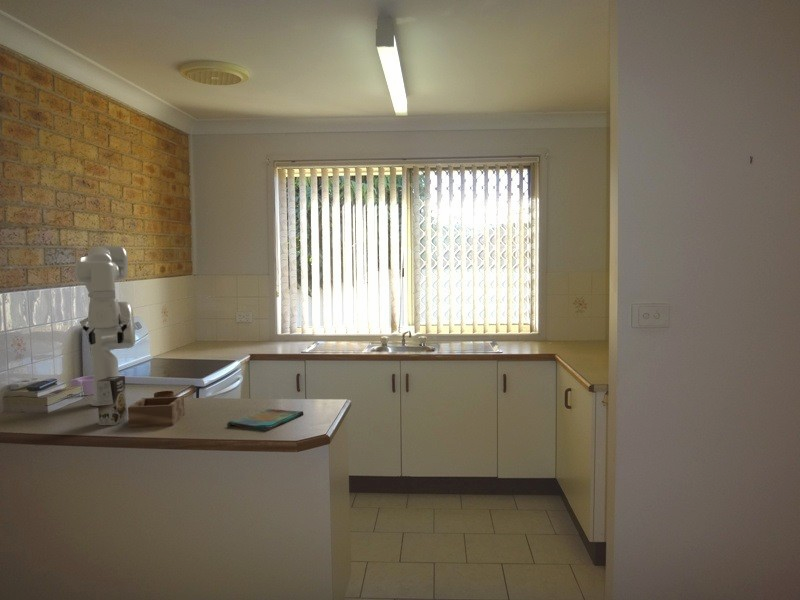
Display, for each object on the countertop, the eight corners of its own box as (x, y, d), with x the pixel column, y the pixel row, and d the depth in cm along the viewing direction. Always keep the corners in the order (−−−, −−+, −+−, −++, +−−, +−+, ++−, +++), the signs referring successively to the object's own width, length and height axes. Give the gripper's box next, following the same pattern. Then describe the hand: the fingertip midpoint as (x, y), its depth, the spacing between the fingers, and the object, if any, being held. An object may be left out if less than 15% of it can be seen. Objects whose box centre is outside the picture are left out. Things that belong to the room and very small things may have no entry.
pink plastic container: (109, 386, 292) (108, 372, 292) (125, 389, 285) (124, 374, 285) (67, 394, 276) (66, 379, 275) (82, 397, 269) (81, 381, 268)
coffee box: (116, 425, 219) (113, 380, 218) (98, 425, 219) (95, 380, 218) (128, 418, 228) (125, 375, 227) (110, 419, 228) (108, 376, 227)
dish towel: (225, 428, 212) (225, 421, 212) (266, 412, 234) (266, 406, 233) (266, 433, 205) (266, 425, 205) (305, 416, 226) (304, 409, 226)
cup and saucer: (169, 412, 237) (168, 396, 237) (141, 411, 240) (140, 395, 239) (186, 404, 249) (185, 389, 249) (159, 404, 251) (158, 389, 251)
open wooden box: (143, 416, 230) (142, 398, 230) (184, 414, 232) (183, 396, 231) (129, 427, 216) (127, 407, 215) (172, 425, 217) (171, 405, 216)
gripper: (74, 297, 216) (77, 345, 217) (124, 295, 217) (127, 343, 218) (83, 296, 224) (86, 343, 225) (132, 294, 225) (135, 341, 226)
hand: (106, 343), depth 222 cm, fingers open, 9 cm apart
